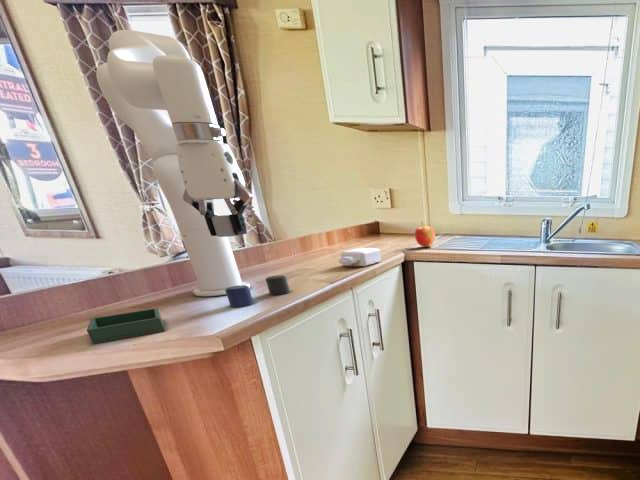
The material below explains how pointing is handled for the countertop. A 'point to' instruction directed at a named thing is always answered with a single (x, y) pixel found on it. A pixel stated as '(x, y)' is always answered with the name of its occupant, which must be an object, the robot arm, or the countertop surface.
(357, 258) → the charger
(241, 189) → the robot arm
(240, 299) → the navy cap
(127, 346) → the countertop surface
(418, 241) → the apple
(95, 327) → the tray
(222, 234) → the grey cap
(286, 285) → the black cap
